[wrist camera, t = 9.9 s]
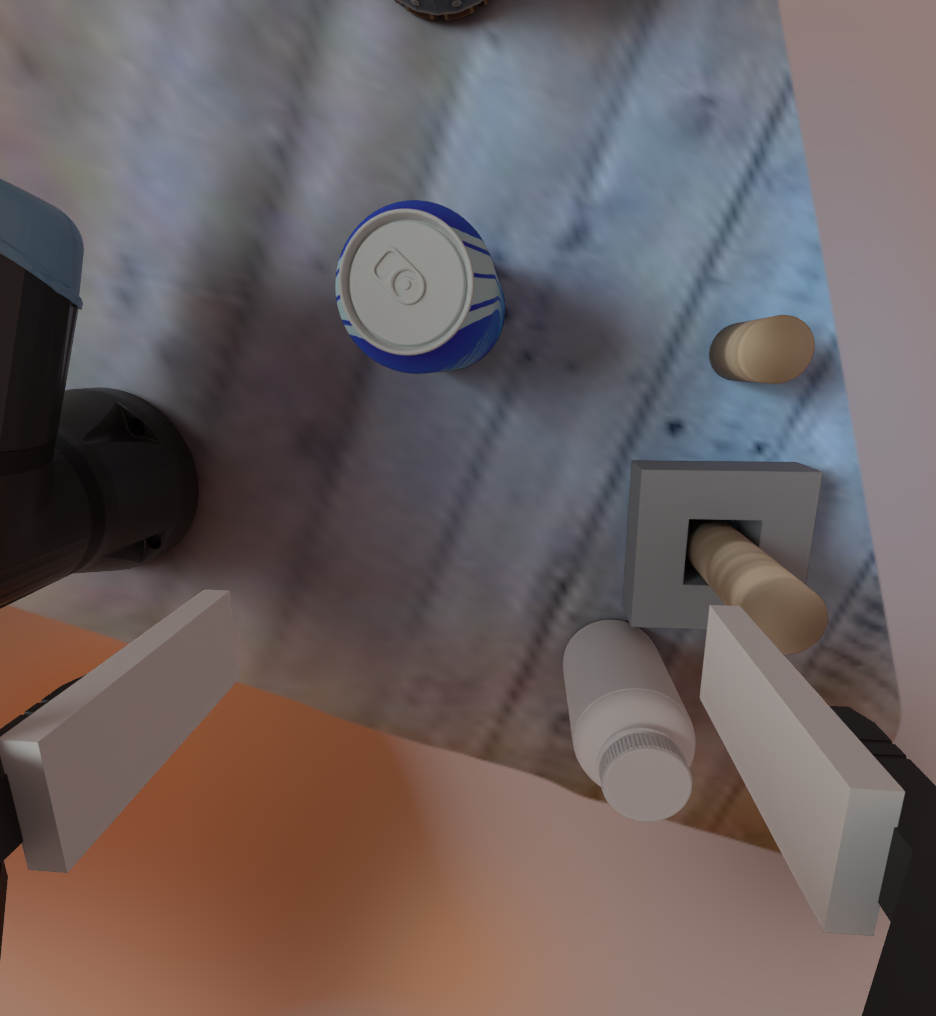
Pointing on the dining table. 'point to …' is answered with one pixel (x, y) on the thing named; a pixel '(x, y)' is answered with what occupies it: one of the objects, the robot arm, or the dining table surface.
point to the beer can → (419, 289)
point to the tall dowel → (756, 585)
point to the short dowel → (763, 350)
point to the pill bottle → (628, 721)
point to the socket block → (719, 496)
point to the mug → (442, 8)
